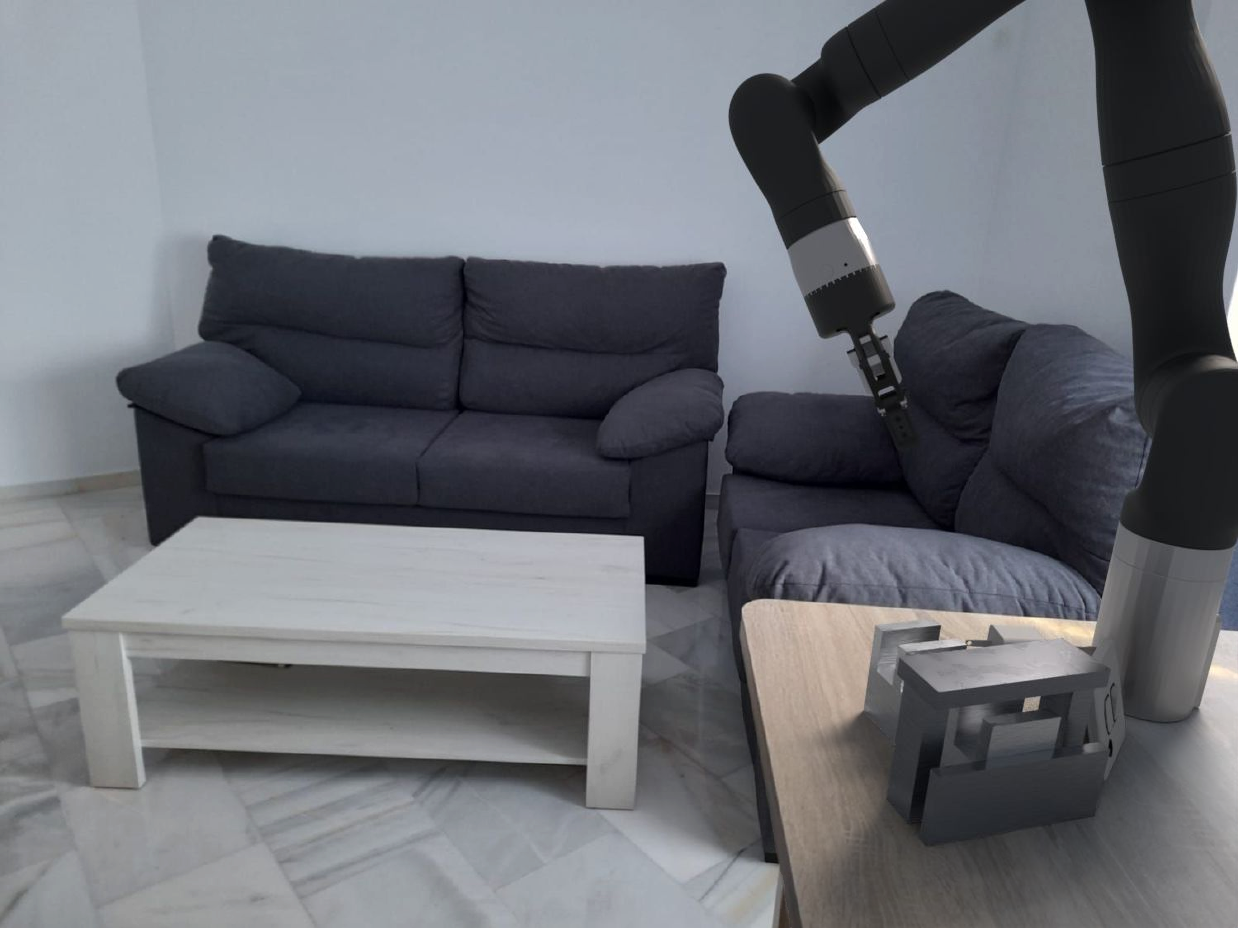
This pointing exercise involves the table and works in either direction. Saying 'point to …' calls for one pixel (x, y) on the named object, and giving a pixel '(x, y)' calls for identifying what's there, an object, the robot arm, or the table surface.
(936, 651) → the heatsink block
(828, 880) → the table surface
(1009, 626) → the usb wall charger
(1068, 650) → the grey open box frame
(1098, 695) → the electrical switch
